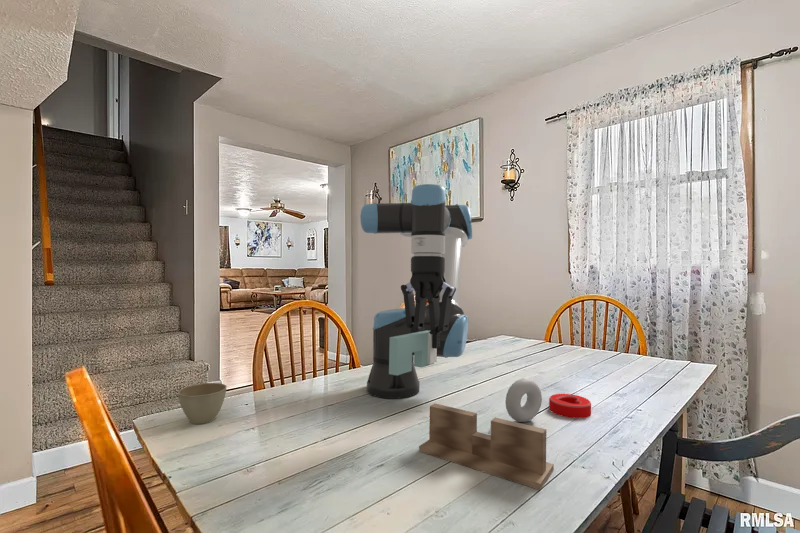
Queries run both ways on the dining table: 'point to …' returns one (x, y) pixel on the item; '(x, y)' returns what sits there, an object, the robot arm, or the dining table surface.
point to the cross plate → (408, 352)
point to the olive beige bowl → (202, 401)
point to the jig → (489, 446)
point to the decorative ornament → (570, 405)
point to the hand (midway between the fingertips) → (426, 361)
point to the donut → (516, 395)
